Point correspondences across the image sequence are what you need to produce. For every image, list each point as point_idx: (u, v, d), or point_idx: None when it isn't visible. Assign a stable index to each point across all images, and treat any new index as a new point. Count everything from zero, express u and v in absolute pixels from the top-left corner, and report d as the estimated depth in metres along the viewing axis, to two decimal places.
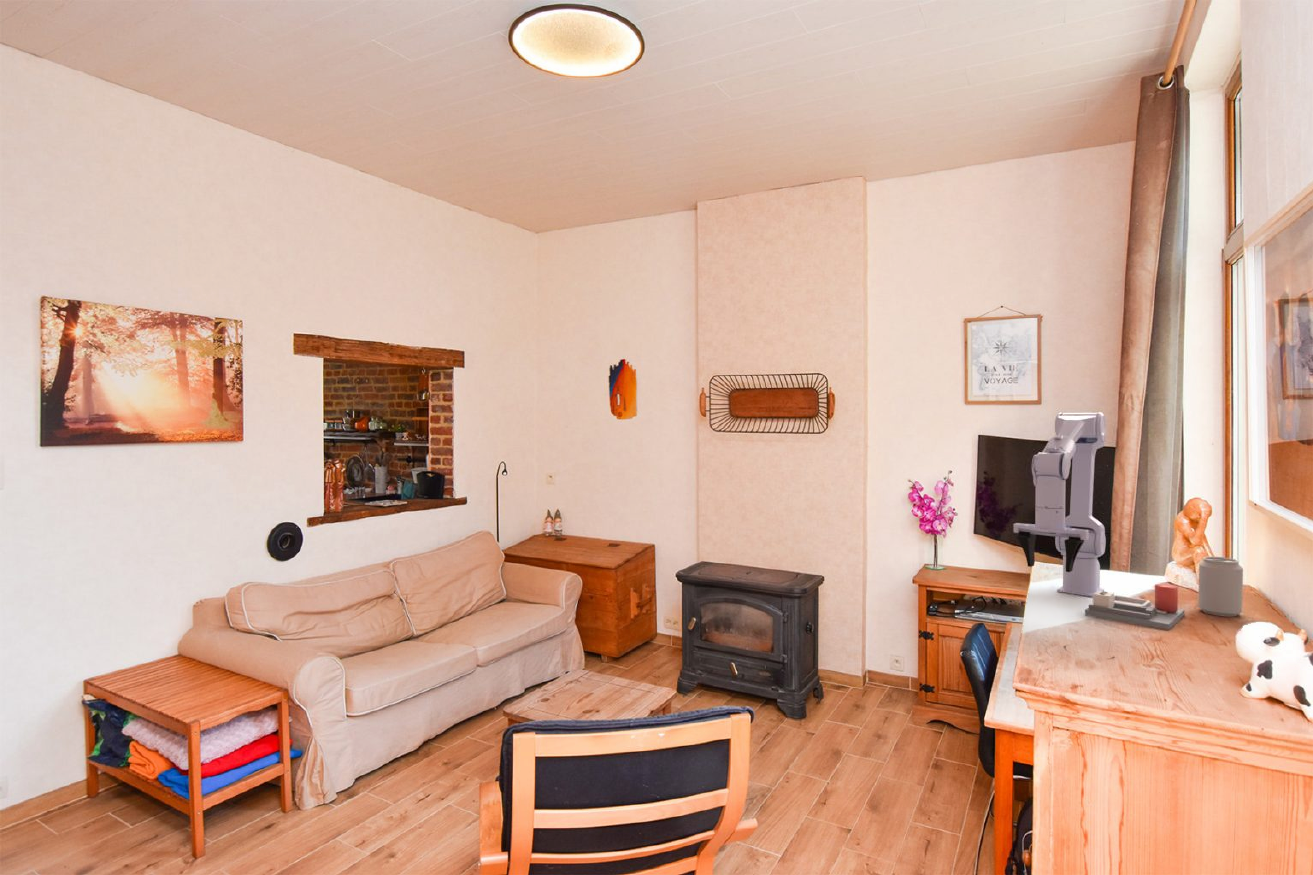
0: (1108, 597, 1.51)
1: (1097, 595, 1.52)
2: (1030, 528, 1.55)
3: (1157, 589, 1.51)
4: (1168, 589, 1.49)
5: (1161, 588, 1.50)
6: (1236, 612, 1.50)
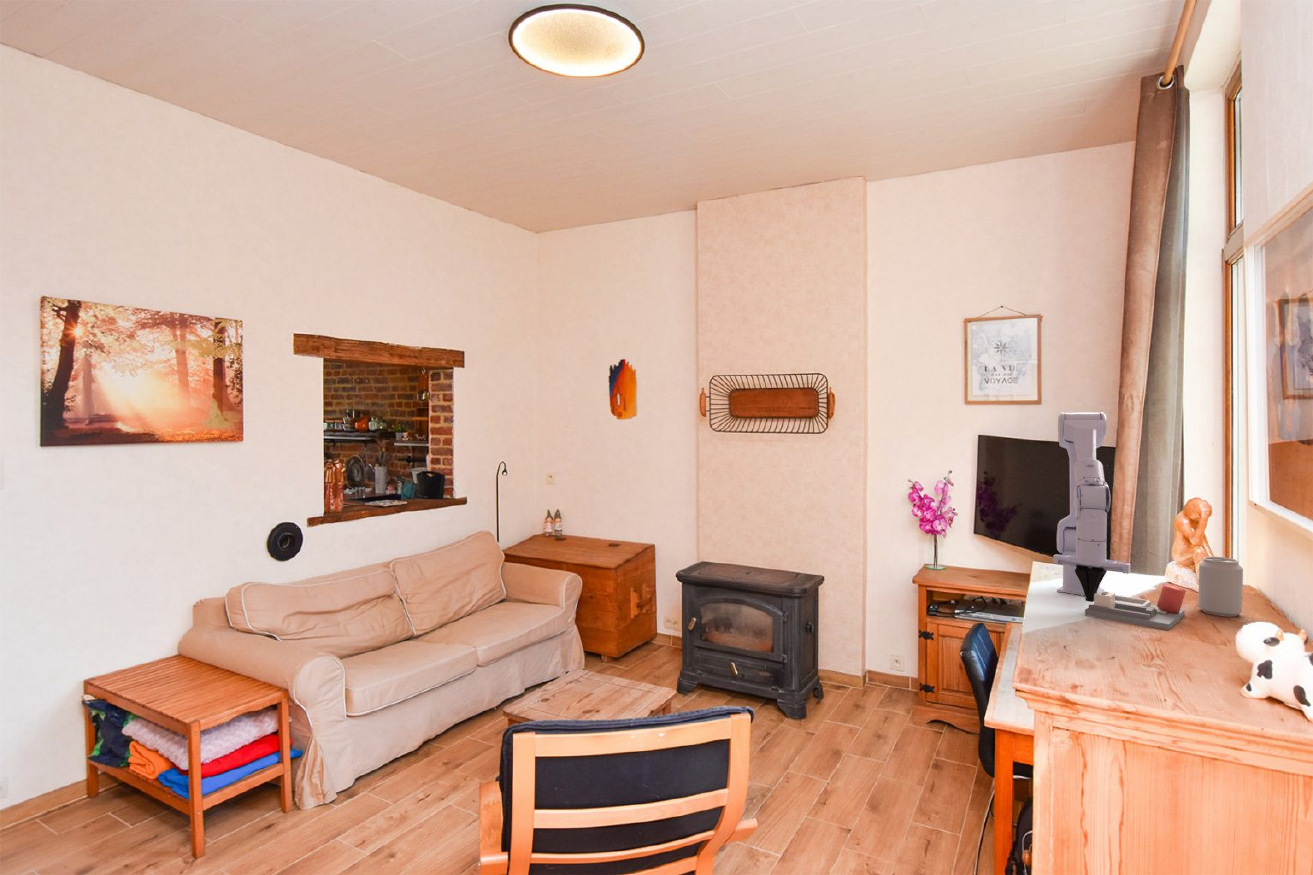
0: (1109, 597, 1.51)
1: (1098, 595, 1.52)
2: (1071, 560, 1.56)
3: (1165, 589, 1.50)
4: (1176, 592, 1.48)
5: (1169, 589, 1.49)
6: (1236, 612, 1.50)
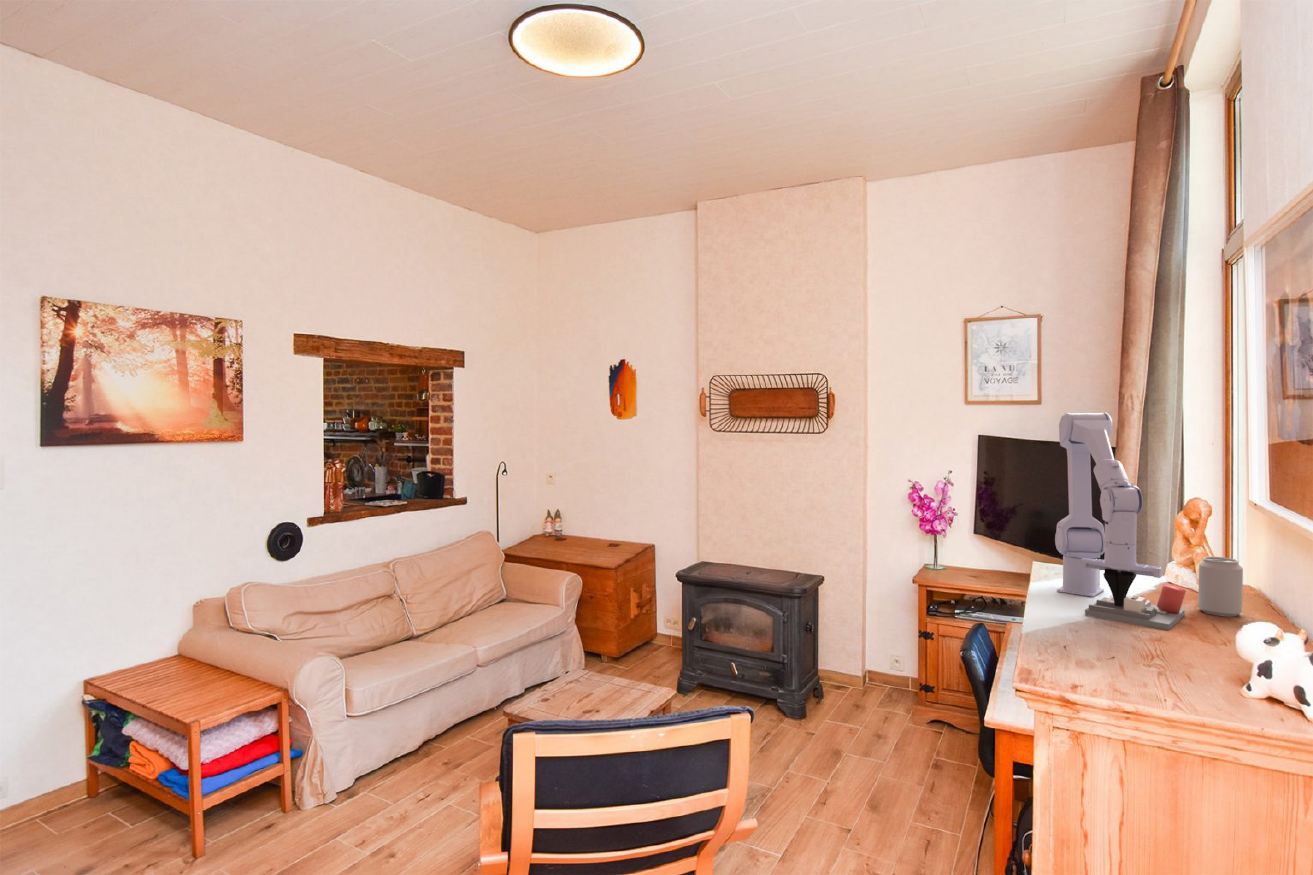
0: (1140, 602, 1.47)
1: (1128, 600, 1.48)
2: (1099, 564, 1.52)
3: (1165, 589, 1.50)
4: (1176, 592, 1.48)
5: (1169, 589, 1.49)
6: (1236, 612, 1.50)
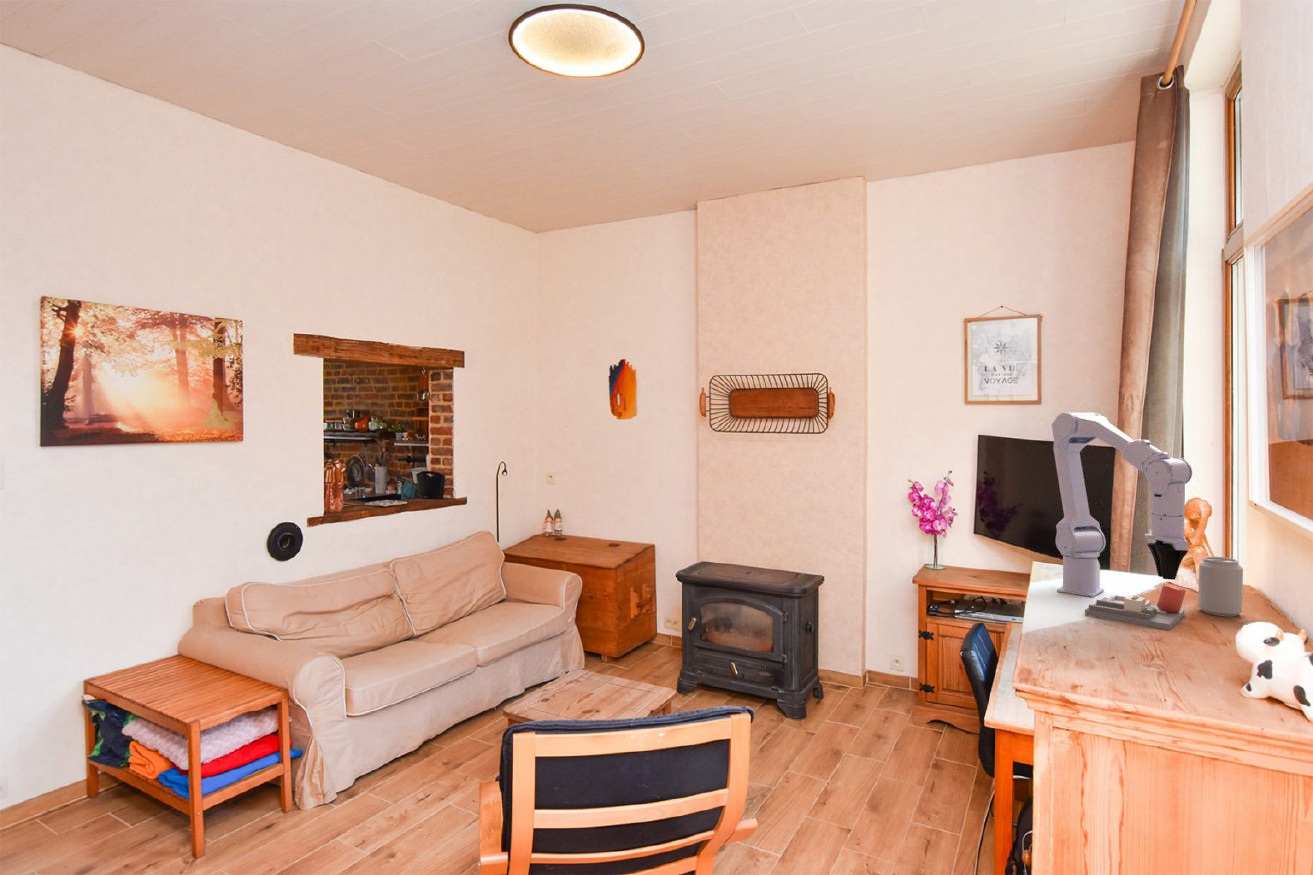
0: (1140, 602, 1.47)
1: (1128, 600, 1.48)
2: None
3: (1165, 589, 1.50)
4: (1176, 592, 1.48)
5: (1169, 589, 1.49)
6: (1236, 612, 1.50)
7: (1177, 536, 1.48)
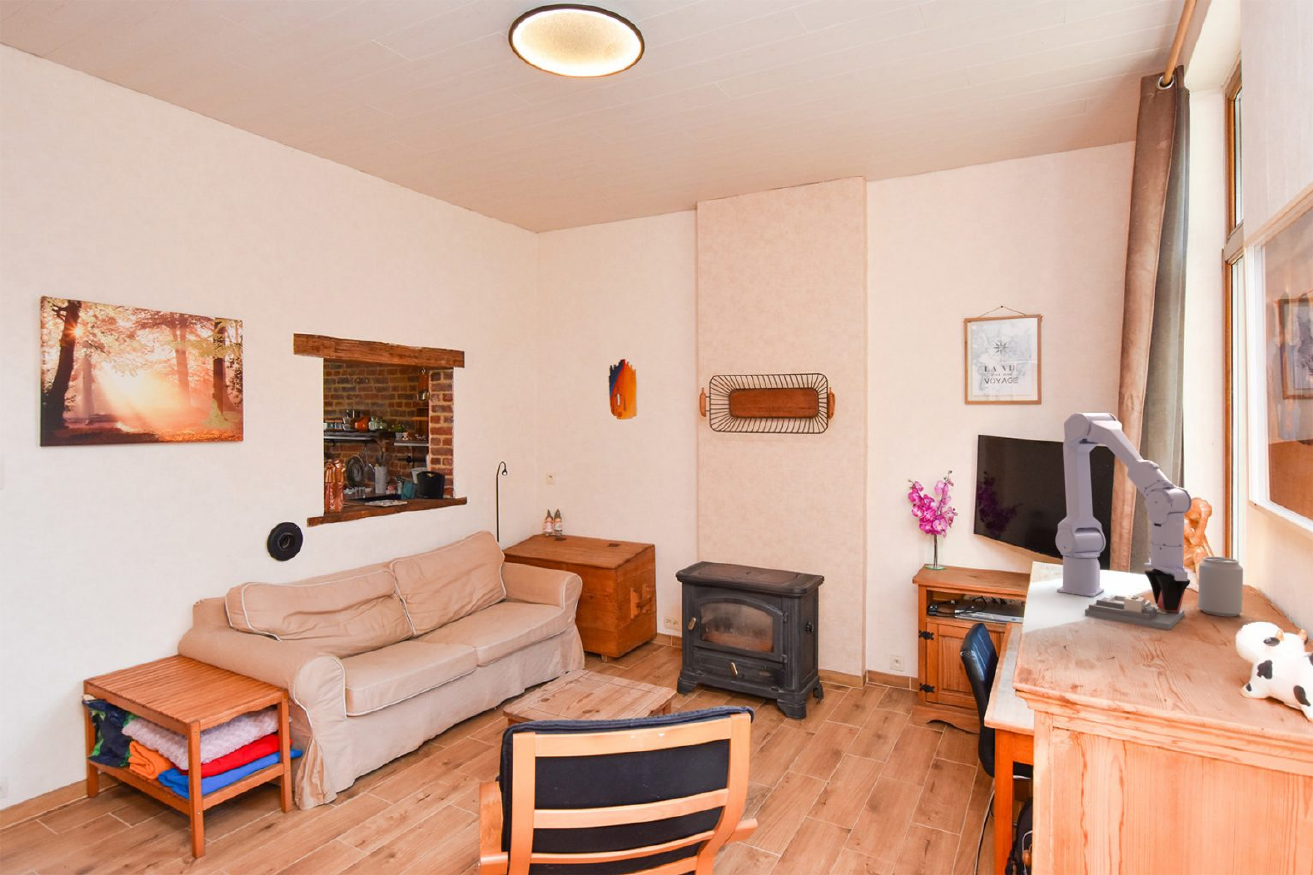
0: (1140, 602, 1.47)
1: (1128, 600, 1.48)
2: (1149, 562, 1.55)
3: None
4: None
5: None
6: (1236, 612, 1.50)
7: (1177, 566, 1.48)
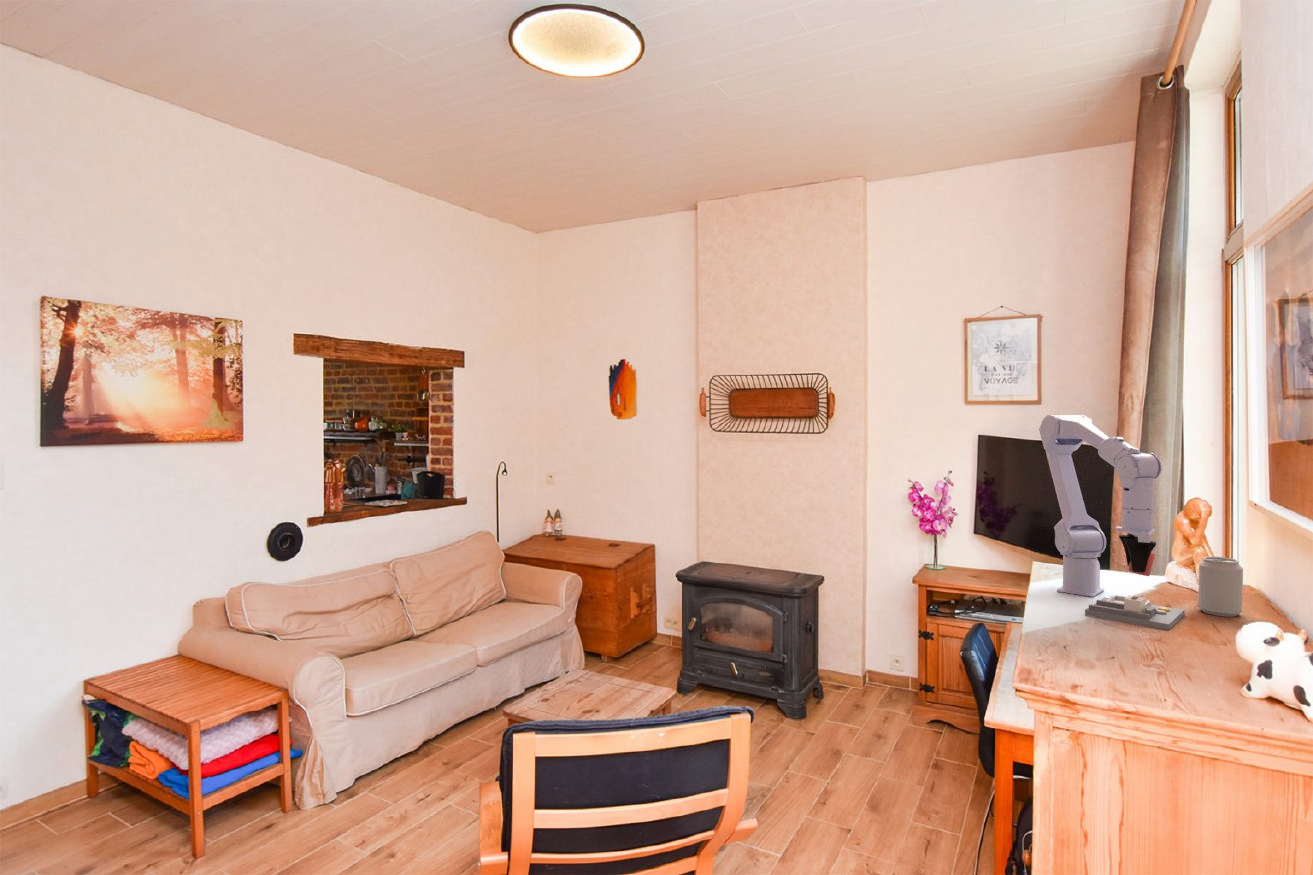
0: (1140, 602, 1.47)
1: (1128, 600, 1.48)
2: None
3: None
4: None
5: None
6: (1236, 612, 1.50)
7: (1144, 529, 1.52)
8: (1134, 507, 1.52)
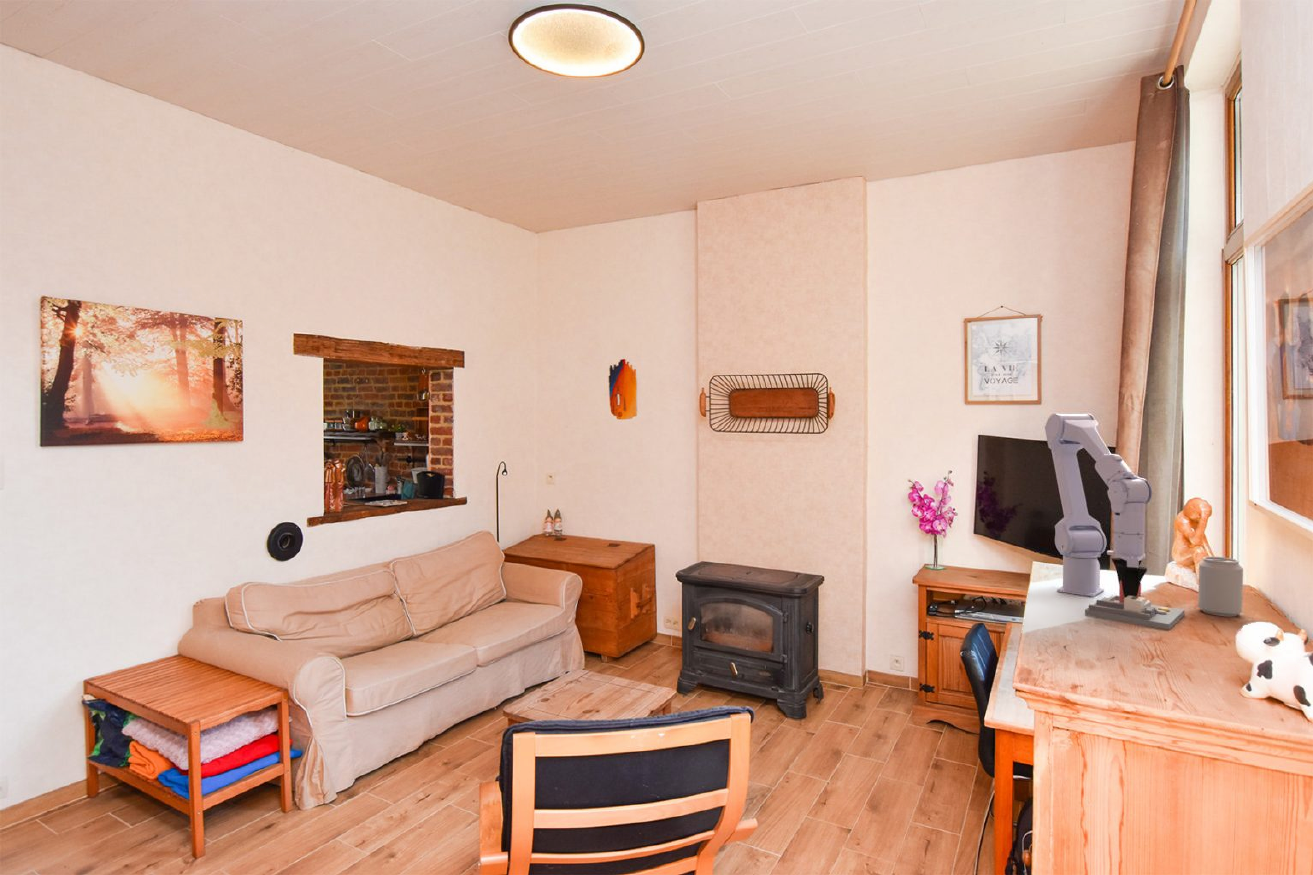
0: (1140, 602, 1.47)
1: (1128, 600, 1.48)
2: None
3: (1120, 585, 1.56)
4: None
5: None
6: (1236, 612, 1.50)
7: (1134, 554, 1.53)
8: (1124, 532, 1.54)
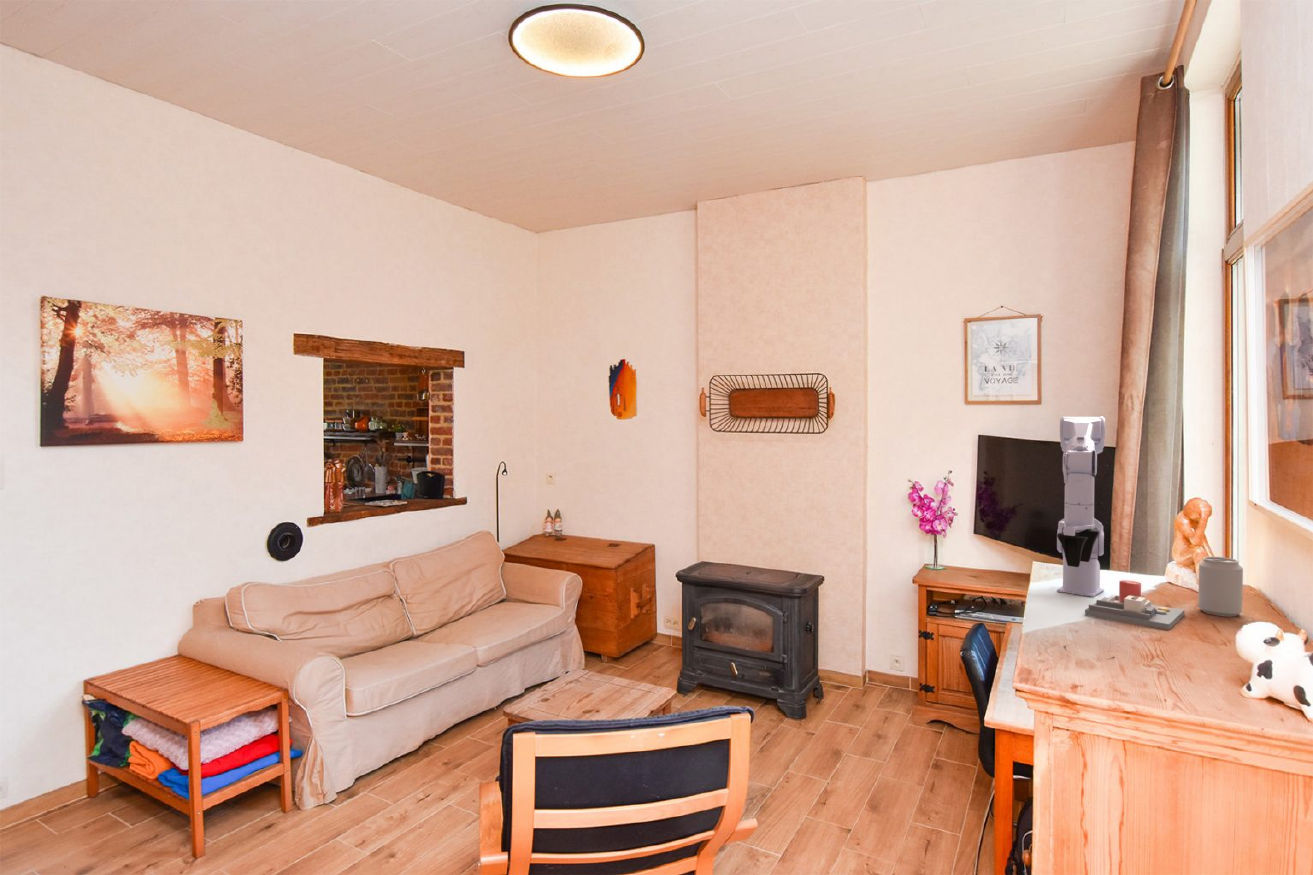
0: (1140, 602, 1.47)
1: (1128, 600, 1.48)
2: None
3: (1120, 585, 1.56)
4: (1130, 585, 1.54)
5: (1123, 584, 1.55)
6: (1236, 612, 1.50)
7: (1079, 523, 1.56)
8: (1067, 501, 1.58)
